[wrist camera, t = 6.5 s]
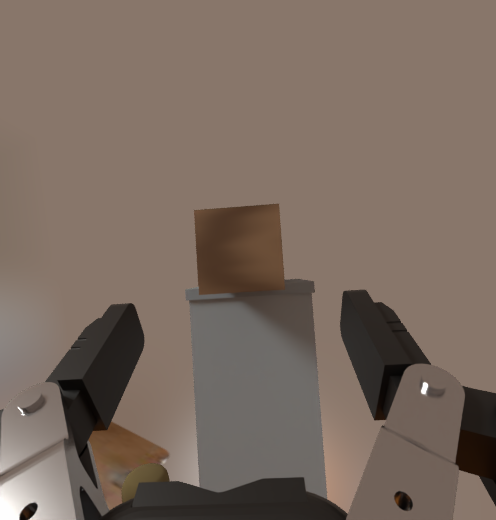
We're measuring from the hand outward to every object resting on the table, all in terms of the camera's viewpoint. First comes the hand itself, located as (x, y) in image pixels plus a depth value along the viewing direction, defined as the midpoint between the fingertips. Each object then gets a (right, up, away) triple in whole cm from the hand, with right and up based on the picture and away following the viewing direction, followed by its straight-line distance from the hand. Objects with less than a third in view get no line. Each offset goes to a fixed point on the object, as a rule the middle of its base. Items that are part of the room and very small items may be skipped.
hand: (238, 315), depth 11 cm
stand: (+3, -32, +13) cm, 35 cm away
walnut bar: (+1, 0, +12) cm, 12 cm away
